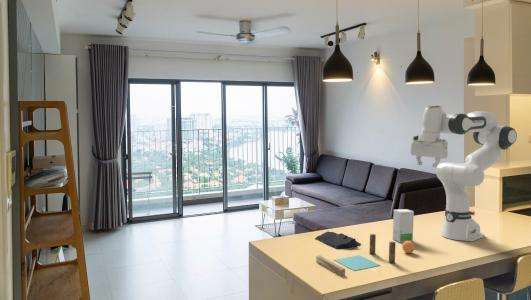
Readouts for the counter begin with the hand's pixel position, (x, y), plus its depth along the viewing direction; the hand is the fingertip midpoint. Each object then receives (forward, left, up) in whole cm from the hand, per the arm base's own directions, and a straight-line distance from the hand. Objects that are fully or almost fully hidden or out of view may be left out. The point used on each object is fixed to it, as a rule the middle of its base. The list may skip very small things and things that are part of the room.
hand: (427, 166), depth 207 cm
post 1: (+35, +2, -39) cm, 52 cm away
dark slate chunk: (+39, -20, -40) cm, 59 cm away
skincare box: (+7, -8, -39) cm, 40 cm away
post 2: (+35, +14, -39) cm, 54 cm away
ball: (+19, +8, -36) cm, 41 cm away
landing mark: (+49, +8, -39) cm, 63 cm away
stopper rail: (+63, +8, -39) cm, 74 cm away
